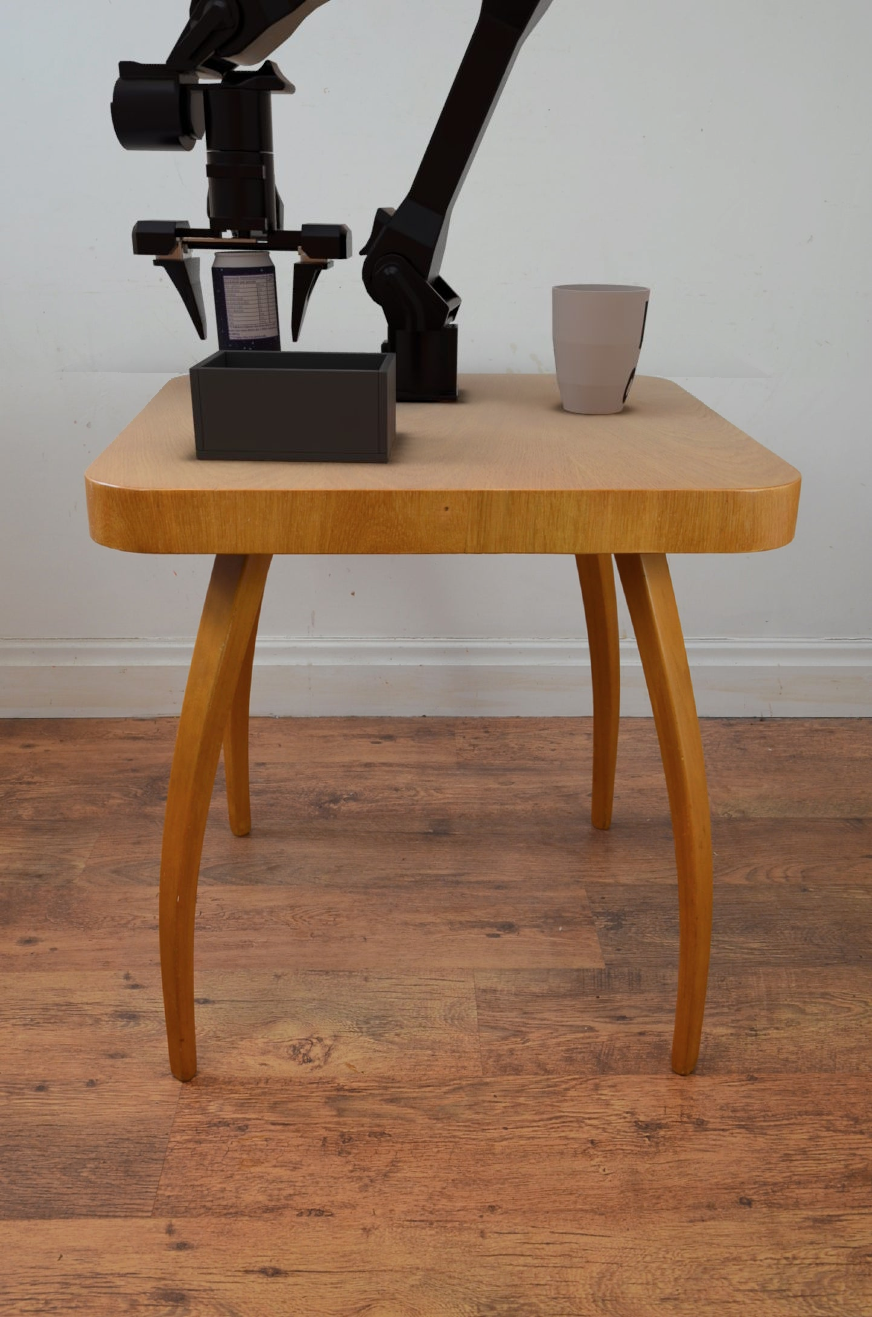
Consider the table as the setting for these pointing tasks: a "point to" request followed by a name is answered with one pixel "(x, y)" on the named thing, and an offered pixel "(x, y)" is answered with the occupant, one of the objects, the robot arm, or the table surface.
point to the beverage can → (246, 301)
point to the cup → (597, 343)
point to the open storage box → (294, 406)
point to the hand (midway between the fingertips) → (249, 340)
